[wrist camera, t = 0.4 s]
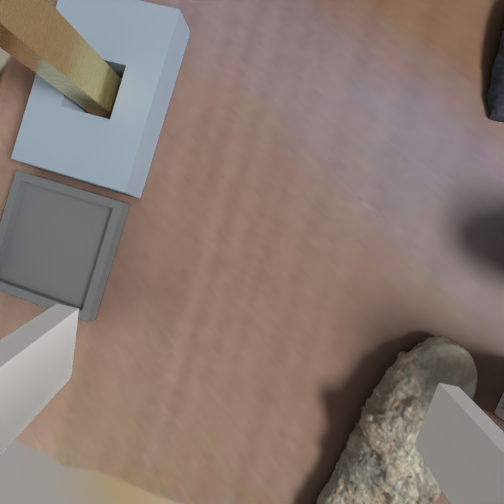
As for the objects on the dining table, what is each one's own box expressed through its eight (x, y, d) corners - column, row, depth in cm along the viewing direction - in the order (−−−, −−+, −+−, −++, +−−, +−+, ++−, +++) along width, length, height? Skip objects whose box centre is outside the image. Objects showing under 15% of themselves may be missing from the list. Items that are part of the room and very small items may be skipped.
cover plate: (83, 9, 39) (62, -16, 35) (190, 32, 37) (180, 9, 34) (35, 167, 39) (10, 158, 35) (140, 198, 37) (124, 192, 34)
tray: (26, 173, 39) (15, 170, 38) (130, 204, 37) (123, 202, 36) (-7, 283, 39) (-19, 284, 38) (95, 319, 37) (87, 322, 36)
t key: (108, 57, 38) (-53, -121, 20) (138, 65, 38) (1, -112, 20) (84, 138, 38) (-97, 31, 20) (114, 146, 38) (-45, 44, 20)
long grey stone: (249, 585, 36) (330, 632, 35) (244, 645, 31) (338, 701, 30) (399, 313, 33) (489, 358, 32) (421, 327, 28) (529, 381, 27)
